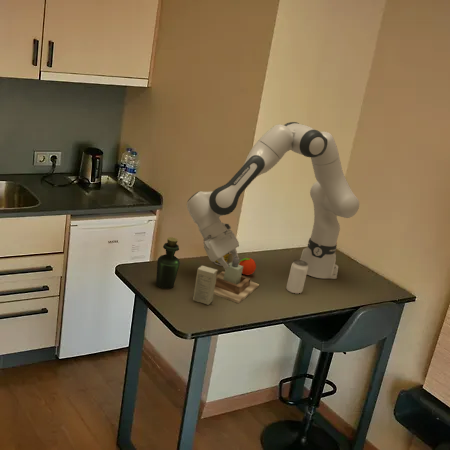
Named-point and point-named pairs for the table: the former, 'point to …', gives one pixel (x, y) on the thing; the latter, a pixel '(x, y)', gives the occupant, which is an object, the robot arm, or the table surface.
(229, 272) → the sage bottle
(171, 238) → the potion bottle
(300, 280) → the can
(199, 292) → the skincare box
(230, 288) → the u rest
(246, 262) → the clementine
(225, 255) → the supplement bottle
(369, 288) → the table surface
